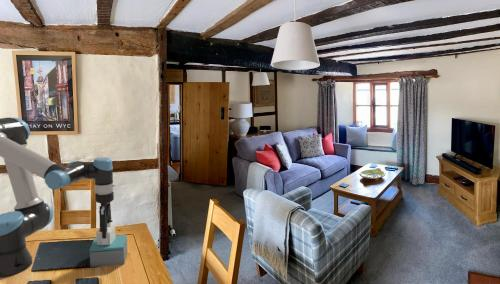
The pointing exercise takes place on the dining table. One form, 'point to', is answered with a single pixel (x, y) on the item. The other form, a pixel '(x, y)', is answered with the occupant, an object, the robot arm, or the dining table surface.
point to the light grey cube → (110, 236)
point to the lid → (115, 245)
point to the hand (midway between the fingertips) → (106, 240)
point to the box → (108, 257)
